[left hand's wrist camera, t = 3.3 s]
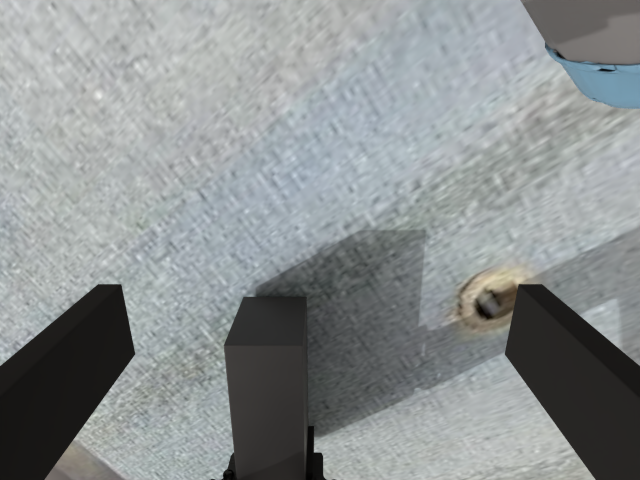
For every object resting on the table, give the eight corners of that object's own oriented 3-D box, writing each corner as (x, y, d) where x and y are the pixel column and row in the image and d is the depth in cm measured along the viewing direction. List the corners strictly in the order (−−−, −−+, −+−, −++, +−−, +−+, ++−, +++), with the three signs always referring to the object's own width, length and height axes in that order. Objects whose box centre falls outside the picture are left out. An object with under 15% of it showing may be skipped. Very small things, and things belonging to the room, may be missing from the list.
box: (243, 296, 43) (223, 345, 34) (306, 296, 43) (302, 345, 34) (254, 451, 51) (240, 523, 42) (308, 451, 51) (305, 523, 42)
